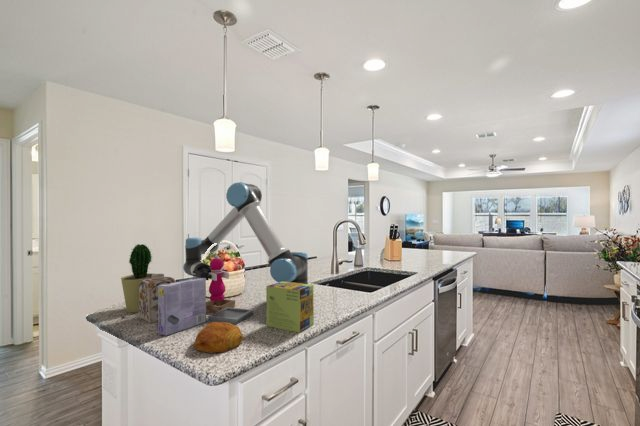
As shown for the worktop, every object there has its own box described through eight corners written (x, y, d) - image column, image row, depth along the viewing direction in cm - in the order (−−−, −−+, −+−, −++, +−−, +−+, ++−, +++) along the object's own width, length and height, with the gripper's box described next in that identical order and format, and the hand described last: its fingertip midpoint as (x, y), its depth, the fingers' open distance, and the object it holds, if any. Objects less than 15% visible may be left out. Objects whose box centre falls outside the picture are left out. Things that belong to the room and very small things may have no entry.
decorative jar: (148, 323, 130) (148, 278, 130) (138, 317, 138) (137, 274, 138) (178, 316, 139) (178, 273, 139) (167, 311, 146) (166, 270, 146)
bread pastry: (214, 340, 118) (212, 318, 119) (250, 340, 112) (247, 317, 113) (183, 355, 105) (180, 330, 105) (222, 357, 99) (219, 329, 99)
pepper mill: (205, 299, 149) (205, 255, 149) (220, 296, 154) (219, 253, 154) (214, 302, 144) (213, 256, 144) (228, 299, 149) (227, 254, 149)
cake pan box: (200, 319, 135) (200, 276, 135) (209, 321, 132) (208, 277, 132) (156, 334, 118) (156, 285, 118) (165, 337, 116) (165, 286, 116)
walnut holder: (235, 306, 152) (235, 300, 152) (220, 313, 142) (220, 306, 142) (214, 304, 156) (214, 298, 156) (199, 311, 145) (199, 304, 145)
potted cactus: (114, 314, 142) (113, 244, 142) (131, 304, 157) (130, 241, 157) (151, 313, 143) (150, 244, 143) (164, 303, 158) (164, 241, 158)
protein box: (300, 333, 119) (300, 290, 119) (265, 326, 126) (265, 285, 126) (314, 324, 128) (314, 284, 128) (281, 318, 135) (281, 280, 135)
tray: (253, 314, 140) (253, 309, 140) (236, 324, 128) (236, 319, 128) (226, 311, 144) (226, 307, 144) (208, 321, 132) (208, 316, 132)
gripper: (218, 275, 168) (240, 281, 151) (182, 280, 156) (202, 288, 139) (218, 260, 168) (240, 265, 151) (182, 265, 156) (201, 270, 139)
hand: (222, 276), depth 145 cm, fingers closed on pepper mill, 5 cm apart
